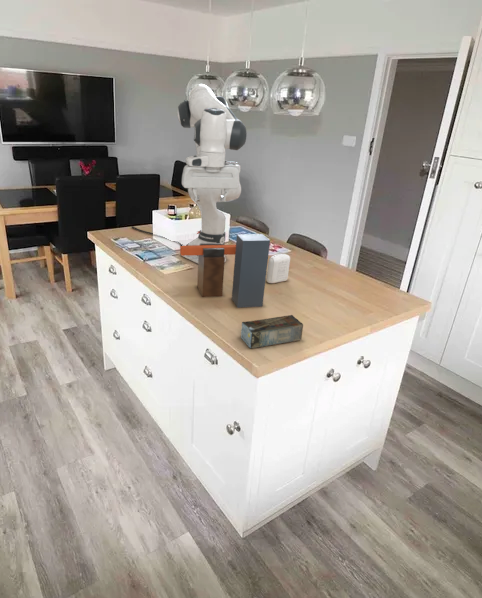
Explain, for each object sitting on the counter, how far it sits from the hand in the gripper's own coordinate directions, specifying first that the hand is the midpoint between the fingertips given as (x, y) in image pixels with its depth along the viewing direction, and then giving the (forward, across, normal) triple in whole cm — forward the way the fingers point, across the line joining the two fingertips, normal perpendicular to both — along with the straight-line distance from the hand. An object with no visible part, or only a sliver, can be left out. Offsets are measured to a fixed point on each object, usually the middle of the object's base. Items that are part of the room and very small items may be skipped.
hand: (209, 201), depth 148 cm
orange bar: (+21, -3, -4) cm, 22 cm away
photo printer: (+37, -35, -12) cm, 52 cm away
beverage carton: (+37, -14, +36) cm, 54 cm away
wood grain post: (+37, -3, -4) cm, 37 cm away
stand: (+37, -15, +8) cm, 41 cm away
